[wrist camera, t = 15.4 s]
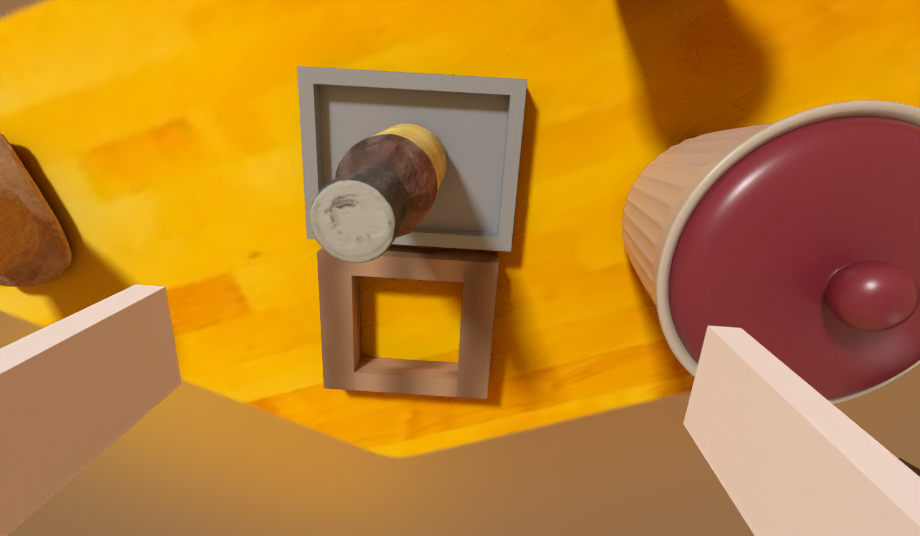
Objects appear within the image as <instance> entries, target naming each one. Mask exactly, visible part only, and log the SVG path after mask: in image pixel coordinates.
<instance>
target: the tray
mask: <svg viewBox="0 0 920 536" xmlns="http://www.w3.org/2000/svg"><path fill="white" fill-rule="evenodd" d="M297 72H298V89H299V106H300V124H301V141H302V158H303V176H304V193H305V211H306V228H307V239H315V236H314V234H313V231H312V228H311V226H310V216H309V215H310V208H311V205H312V203H313V200H314V199H315V197H316V195H317V194H318V192H319V191H320V190H321V189H322V188H323V187H324V186H325V185H326V184H328V183H329V182H330V181H332V180H333V179H335V175H336V170H337V167H338V165H339V162H340V161H341V159H342V157H343V156H344V155H345V153H346V152H347V151H348V150H349V149H350V148H351V147H352V146H354V145H355V144H357V143H358V142H360V141H361V140H364V139H365V138H367V137H369V136H372V135H374V134H376V133H378V132H381V131H383V130H385V129H388V128H390V127H392V126H395V125H399V124H405V123H409V124H417V125H420V126H422V127H424V128H426V129H428V130H429V131H431V132H432V133H433V134H434V135H436V136H437V137H438V138H439V140H440V141H441V143H442V146H443V147H444V150H445V154H446V160H447V167H446V172H445V175H444V176H445V177H444V179H443V182H442V184H441V187H440V189H439V192H438V194H437V197H436V199H435V201H434V204H433V206H432V207H431V209H430V210H429V212H428V214H427V215H426V217H425V218H424V220H423V221H422V222H421V223H420V224H419V226H417V227H416V228H415V229H413V230H412V231H411V233H409V234H406V235H404V236H401V237H398V238H395V240H394V242H393V243H392V244H398V245H414V246H430V247H446V248H463V249H479V250H495V251H511V244H512V234H513V224H514V213H515V203H516V192H517V182H518V171H519V161H520V151H521V140H522V130H523V119H524V109H525V98H526V88H527V79H511V78H493V77H476V76H458V75H441V74H423V73H406V72H389V71H371V70H354V69H336V68H319V67H301V66H297Z"/></svg>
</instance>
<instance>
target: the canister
mask: <svg viewBox="0 0 920 536" xmlns="http://www.w3.org/2000/svg"><path fill="white" fill-rule="evenodd" d="M621 223H622V226H623V231H622V237H623V239H624V246H625V249H626V252H627V253H628V256H629V259H630V262H631V264H632V266H633V267H634V269H635V271H636V273H637V275H638V277H639V279H640V280H641V282H642V284H643V286H644V287H645V289H646V291H647V292H648V294H649V295H650V297H651V299H652V300H653V302H654V304H655V305H656V307H657V313H658V318H659V322H660V326H661V329H662V332H663V334H664V337H665V339H666V341H667V343H668V345H669V347H670V349H671V350H672V352H673V354H674V355H675V357H676V358H677V359H678V361H679V362H680V363H681V364H682V366H683V367H684V368H685V369H686V370H687V371H688V372H689V373H690V374H691V375H692V376H693V377H694V378H695V375H696V371H697V367H698V363H699V359H700V355H701V351H702V347H703V343H704V339H705V335H706V331H707V327H708V326H721V327H735V328H742V329H743V330H744V331H745V332H746V333H748V334H749V335H750V336H751V337H752V338H754V339H755V340H756V341H757V342H758V343H760V344H761V345H762V346H763V347H764V348H766V349H767V350H768V351H769V352H770V353H772V354H773V355H774V356H775V357H776V358H778V359H779V360H780V361H781V362H782V363H784V364H785V365H786V366H787V367H788V368H790V369H791V370H792V371H793V372H794V373H796V374H797V375H798V376H799V377H800V378H802V379H803V380H804V381H805V382H806V383H808V384H809V385H810V386H811V387H812V388H814V389H815V390H816V391H817V392H818V393H820V394H821V395H822V396H823V397H824V398H826V399H827V400H828V401H829V402H830V403H832V404H833V405H834V404H837V403H842V402H845V401H848V400H851V399H854V398H857V397H860V396H863V395H865V394H868V393H870V392H873V391H875V390H877V389H879V388H881V387H883V386H885V385H887V384H889V383H891V382H893V381H895V380H896V379H898V378H900V377H901V376H903V375H905V374H906V373H908V372H909V371H911V370H912V369H914V368H915V367H916V366H918V365H919V364H920V108H918V107H915V106H911V105H907V104H902V103H897V102H889V101H873V100H865V101H848V102H840V103H834V104H829V105H824V106H820V107H816V108H812V109H809V110H806V111H803V112H800V113H797V114H794V115H792V116H789V117H787V118H785V119H782V120H780V121H778V122H776V123H770V124H762V125H755V126H748V127H742V128H735V129H729V130H723V131H717V132H712V133H707V134H702V135H699V136H697V137H695V138H690V139H686V140H684V141H682V142H681V143H680V144H678V145H674V146H671V147H670V148H669V149H668V150H667V151H665V152H663V153H661V154H659V155H658V156H657V158H656V159H655V160H654V161H652V162H651V163H649V164H648V165H647V167H646V168H645V169H644V171H643V172H642V173H640V174H639V175H638V178H637V180H636V182H635V183H634V184H633V185H632V187H631V190H630V193H629V195H628V196H627V197H626V204H625V207H624V208H623V219H622V222H621Z"/></svg>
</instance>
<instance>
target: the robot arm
mask: <svg viewBox="0 0 920 536" xmlns="http://www.w3.org/2000/svg"><path fill="white" fill-rule="evenodd" d="M180 384H181V378H180V372H179V366H178V360H177V354H176V348H175V342H174V336H173V330H172V324H171V318H170V312H169V306H168V300H167V293H166V287H163V286H149V285H133V286H131V287H129V288H127V289H125V290H123V291H121V292H118V293H116V294H114V295H112V296H110V297H108V298H106V299H104V300H102V301H100V302H97V303H95V304H93V305H91V306H89V307H87V308H85V309H83V310H81V311H79V312H76V313H74V314H72V315H70V316H68V317H66V318H64V319H62V320H60V321H58V322H56V323H53V324H51V325H49V326H47V327H45V328H43V329H41V330H39V331H37V332H35V333H32V334H30V335H28V336H26V337H24V338H22V339H20V340H18V341H16V342H14V343H12V344H9V345H7V346H5V347H3V348H1V349H0V536H7V535H8V534H9V533H10V532H12V531H13V530H14V529H15V528H16V527H17V526H19V525H20V524H21V523H22V522H23V521H24V520H25V519H27V518H28V517H29V516H30V515H31V514H32V513H33V512H35V511H36V510H37V509H38V508H39V507H40V506H42V505H43V504H44V503H45V502H46V501H47V500H48V499H50V498H51V497H52V496H53V495H54V494H55V493H56V492H58V491H59V490H60V489H61V488H62V487H63V486H64V485H65V484H67V483H68V482H69V481H70V480H71V479H73V478H74V477H75V476H76V475H77V474H78V473H79V472H80V471H82V470H83V469H84V468H85V467H86V466H87V465H88V464H90V463H91V462H92V461H93V460H94V459H95V458H97V457H98V456H99V455H100V454H101V453H102V452H103V451H105V450H106V449H107V448H108V447H109V446H110V445H111V444H113V443H114V442H115V441H116V440H117V439H118V438H120V437H121V436H122V435H123V434H124V433H125V432H126V431H127V430H129V429H130V428H131V427H132V426H133V425H134V424H136V423H137V422H138V421H139V420H140V419H141V418H142V417H144V415H146V414H147V413H148V412H149V411H151V410H152V409H153V408H154V407H155V406H156V405H157V404H158V403H160V402H161V401H162V400H163V399H164V398H165V397H167V396H168V395H169V394H170V393H171V392H172V391H173V390H175V389H176V388H177V387H178V386H179V385H180ZM683 424H684V426H685V427H686V429H687V430H688V432H689V433H690V435H691V436H692V438H693V440H694V441H695V443H696V444H697V446H698V448H699V449H700V451H701V452H702V454H703V455H704V457H705V459H706V460H707V462H708V463H709V464H710V466H711V468H712V469H713V471H714V472H715V474H716V476H717V477H718V479H719V480H720V482H721V484H722V485H723V487H724V488H725V490H726V491H727V493H728V494H729V496H730V498H731V499H732V501H733V502H734V504H735V506H736V507H737V509H738V510H739V512H740V513H741V515H742V517H743V518H744V520H745V521H746V523H747V524H748V526H749V528H750V529H751V531H752V532H753V534H754V535H755V536H920V469H918V468H916V467H915V466H913V465H911V464H909V463H907V462H906V461H904V460H903V459H901V458H896V457H895V456H894V455H893V454H892V453H890V452H889V451H888V450H887V449H885V448H884V447H883V446H882V445H881V444H880V443H878V442H877V441H876V440H875V439H874V438H872V437H871V436H870V435H869V434H867V433H866V432H865V431H864V430H862V429H861V428H860V427H859V426H858V425H857V424H856V423H854V422H853V421H852V420H851V419H850V418H848V417H847V416H846V415H845V414H844V413H842V412H841V411H840V410H839V409H838V408H836V407H835V406H834V405H833V404H832V403H830V402H829V401H828V400H827V399H826V398H824V397H823V396H822V395H821V394H820V393H818V392H817V391H816V390H815V389H814V388H812V387H811V386H810V385H809V384H808V383H806V382H805V381H804V380H803V379H802V378H800V377H799V376H798V375H797V374H796V373H794V372H793V371H792V370H791V369H790V368H788V367H787V366H786V365H785V364H784V363H782V362H781V361H780V360H779V359H778V358H776V357H775V356H774V355H773V354H772V353H770V352H769V351H768V350H767V349H766V348H764V347H763V346H762V345H761V344H760V343H758V342H757V341H756V340H755V339H754V338H752V337H751V336H750V335H749V334H748V333H746V332H745V331H744V330H743V329H742V328H735V327H721V326H708V327H707V331H706V335H705V339H704V343H703V347H702V351H701V355H700V359H699V363H698V367H697V371H696V375H695V379H694V383H693V387H692V391H691V395H690V399H689V403H688V407H687V411H686V415H685V419H684V423H683Z"/></svg>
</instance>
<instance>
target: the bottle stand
mask: <svg viewBox="0 0 920 536" xmlns="http://www.w3.org/2000/svg"><path fill="white" fill-rule="evenodd" d="M317 260H318V280H319V300H320V320H321V339H322V359H323V379H324V388H327V389H342V390H357V391H372V392H388V393H403V394H418V395H433V396H448V397H463V398H478V399H487V392H488V381H489V369H490V358H491V347H492V335H493V324H494V312H495V301H496V289H497V278H498V267H499V261H498V255H497V253H486V252H470V251H453V250H437V249H421V248H405V247H389V248H388V250H387V251H386V252H385V253H383V254H382V255H381V256H380V257H379V258H377V259H374V260H371V261H369V262H364V263H349V262H344V261H341V260H340V259H338V258H335V257H333V256H332V255H330V254H329V253H328V252H327V251H325V250H324V249H323V248H321V249H320V250H319V251H318V252H317ZM360 276H368V277H383V278H399V279H415V280H431V281H447V282H463V295H462V311H461V328H460V344H459V360H458V363H450V362H435V361H419V360H404V359H389V358H373V357H361V312H360Z"/></svg>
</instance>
